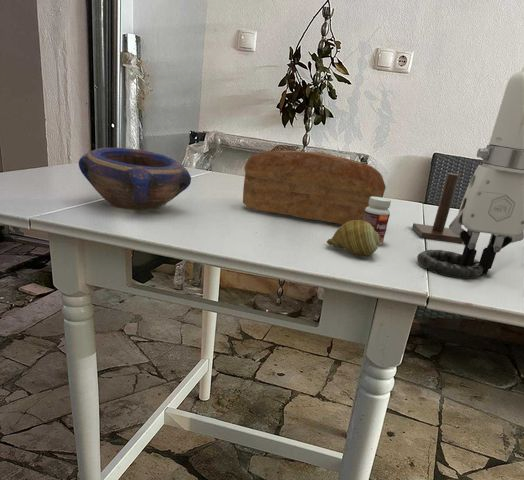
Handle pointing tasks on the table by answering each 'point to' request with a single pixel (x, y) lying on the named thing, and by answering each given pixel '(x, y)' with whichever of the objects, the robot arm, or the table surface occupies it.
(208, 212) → the table surface
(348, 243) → the seashell
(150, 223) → the table surface
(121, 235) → the table surface
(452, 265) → the ring
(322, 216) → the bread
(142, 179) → the bowl
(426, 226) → the stand
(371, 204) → the pill bottle
